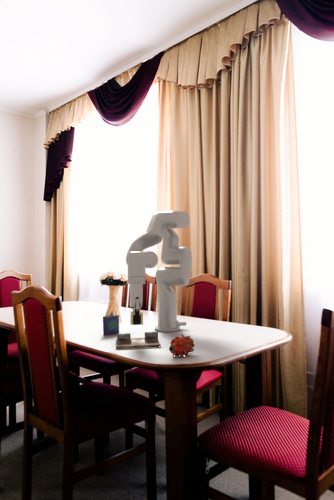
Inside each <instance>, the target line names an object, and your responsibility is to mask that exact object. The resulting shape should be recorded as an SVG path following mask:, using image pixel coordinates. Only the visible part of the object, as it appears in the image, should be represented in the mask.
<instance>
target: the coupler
mask: <svg viewBox="0 0 334 500" xmlns="http://www.w3.org/2000/svg"><path fill="white" fill-rule="evenodd" d="M133 315H134V312H133V311H130V325H132V326H134V325H133ZM140 315H141V324H140V326H141V325H144V312H143V311H141V310H140Z"/></svg>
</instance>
